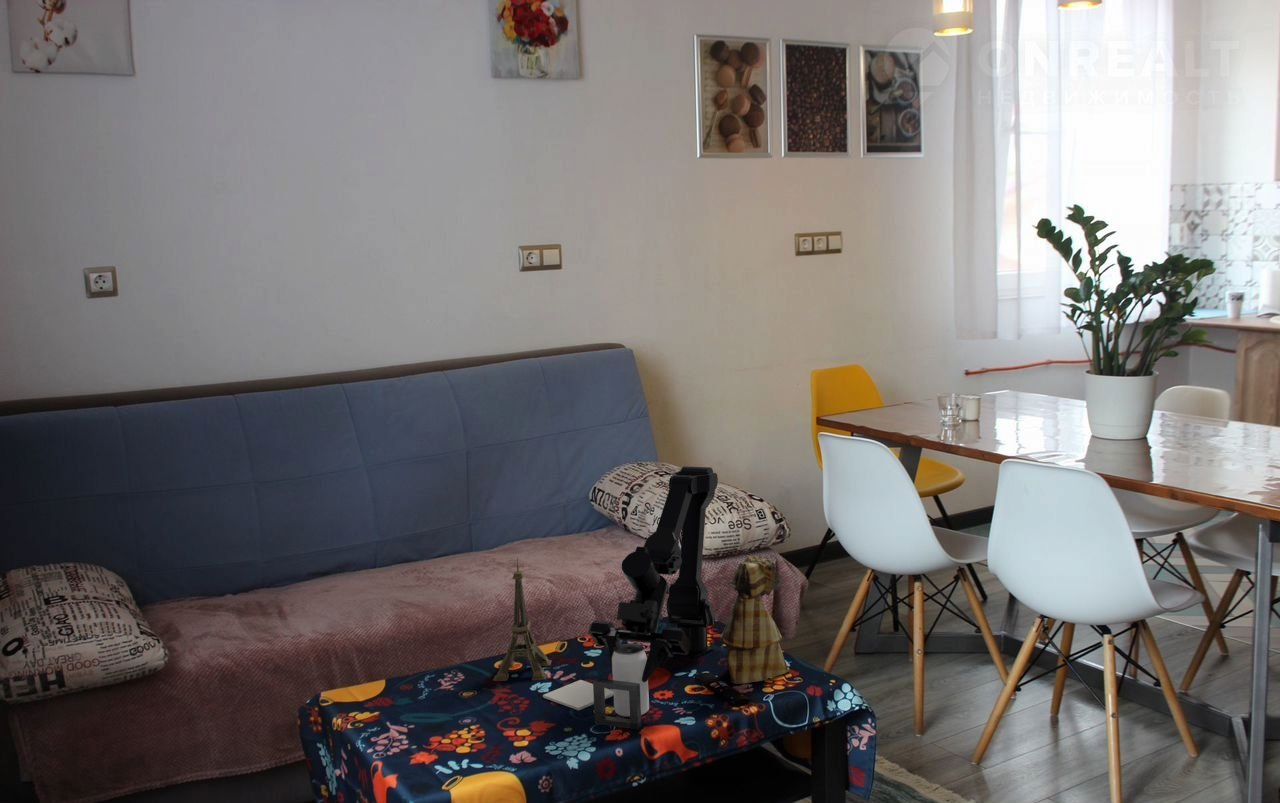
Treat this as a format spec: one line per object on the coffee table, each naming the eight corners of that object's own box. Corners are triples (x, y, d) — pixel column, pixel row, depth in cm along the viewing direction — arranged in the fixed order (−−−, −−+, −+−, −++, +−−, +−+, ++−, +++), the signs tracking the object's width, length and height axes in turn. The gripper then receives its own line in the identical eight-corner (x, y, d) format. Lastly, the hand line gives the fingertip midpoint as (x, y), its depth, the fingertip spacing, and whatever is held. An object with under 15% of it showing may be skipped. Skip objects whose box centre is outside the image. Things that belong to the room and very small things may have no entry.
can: (650, 704, 215) (648, 642, 213) (647, 718, 209) (644, 654, 207) (616, 704, 216) (613, 642, 214) (612, 718, 209) (609, 654, 208)
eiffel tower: (501, 662, 240) (495, 546, 237) (551, 661, 240) (545, 545, 237) (493, 681, 230) (486, 560, 227) (545, 680, 229) (539, 558, 226)
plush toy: (697, 662, 233) (712, 550, 226) (752, 650, 240) (768, 541, 233) (736, 697, 222) (754, 582, 214) (792, 684, 229) (811, 571, 221)
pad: (580, 682, 227) (580, 679, 227) (616, 694, 220) (616, 691, 220) (543, 697, 220) (542, 695, 220) (578, 710, 213) (578, 707, 213)
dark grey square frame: (598, 720, 208) (596, 678, 207) (641, 726, 205) (639, 683, 204) (594, 723, 207) (593, 681, 206) (638, 729, 204) (636, 686, 203)
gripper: (590, 579, 216) (567, 655, 207) (682, 586, 209) (663, 665, 200) (608, 607, 224) (587, 681, 216) (698, 615, 217) (680, 692, 209)
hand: (628, 679), depth 210 cm, fingers closed on can, 6 cm apart
